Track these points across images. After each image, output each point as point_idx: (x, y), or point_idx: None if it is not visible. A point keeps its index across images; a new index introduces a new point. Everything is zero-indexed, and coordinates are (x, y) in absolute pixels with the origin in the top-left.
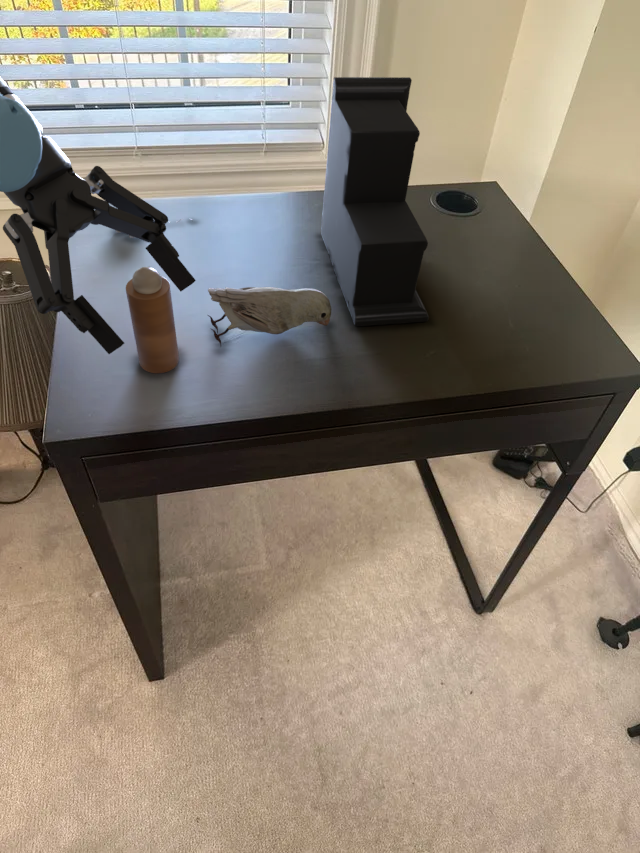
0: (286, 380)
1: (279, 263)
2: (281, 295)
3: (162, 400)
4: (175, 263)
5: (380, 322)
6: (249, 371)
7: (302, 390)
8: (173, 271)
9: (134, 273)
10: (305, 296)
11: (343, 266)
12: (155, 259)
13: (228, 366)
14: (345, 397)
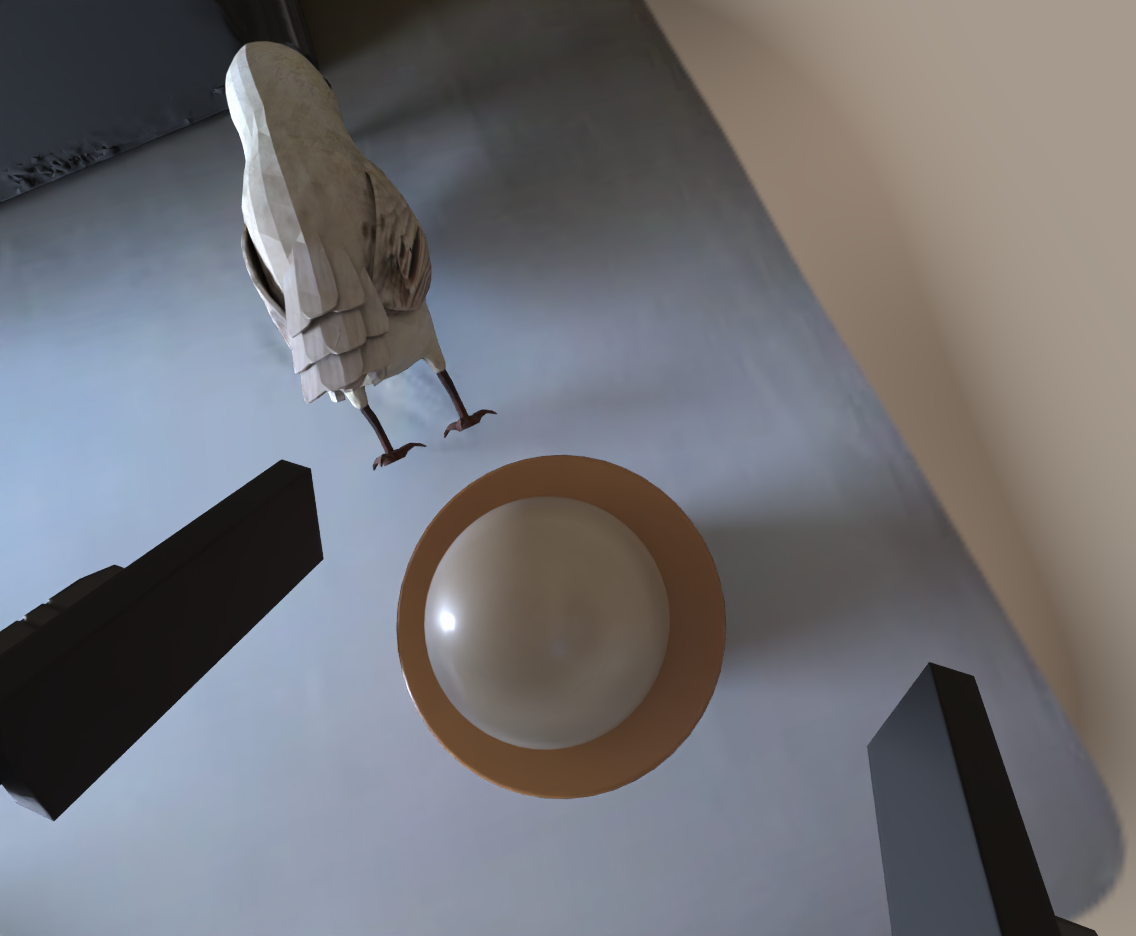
0: (598, 188)
1: (13, 359)
2: (299, 135)
3: (806, 529)
4: (200, 557)
5: (298, 6)
6: (584, 299)
7: (630, 137)
8: (237, 584)
9: (555, 728)
10: (282, 75)
11: (64, 68)
12: (150, 719)
13: (576, 368)
14: (628, 31)
